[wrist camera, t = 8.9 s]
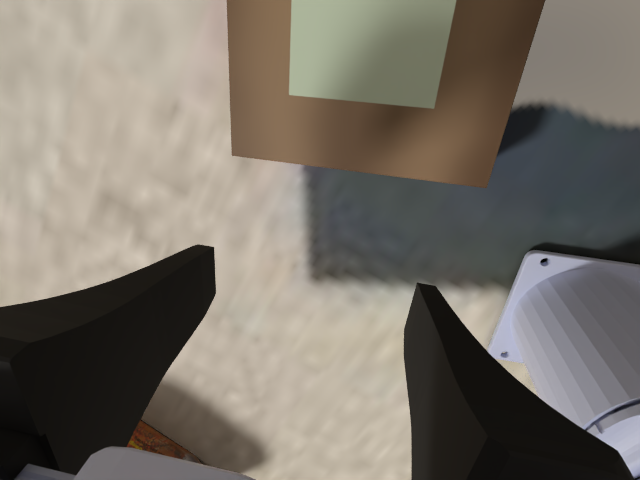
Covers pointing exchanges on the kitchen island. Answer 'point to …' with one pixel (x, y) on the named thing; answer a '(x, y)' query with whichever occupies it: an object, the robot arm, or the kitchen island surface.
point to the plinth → (381, 119)
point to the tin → (158, 443)
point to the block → (369, 50)
